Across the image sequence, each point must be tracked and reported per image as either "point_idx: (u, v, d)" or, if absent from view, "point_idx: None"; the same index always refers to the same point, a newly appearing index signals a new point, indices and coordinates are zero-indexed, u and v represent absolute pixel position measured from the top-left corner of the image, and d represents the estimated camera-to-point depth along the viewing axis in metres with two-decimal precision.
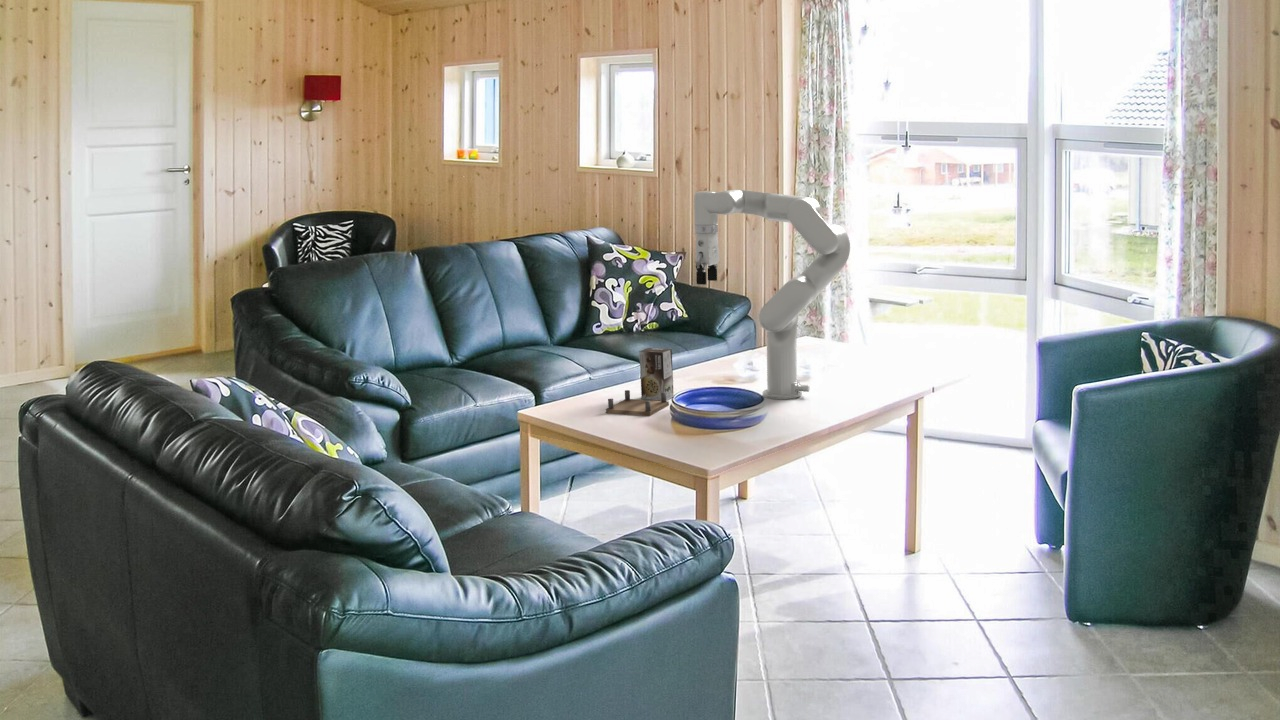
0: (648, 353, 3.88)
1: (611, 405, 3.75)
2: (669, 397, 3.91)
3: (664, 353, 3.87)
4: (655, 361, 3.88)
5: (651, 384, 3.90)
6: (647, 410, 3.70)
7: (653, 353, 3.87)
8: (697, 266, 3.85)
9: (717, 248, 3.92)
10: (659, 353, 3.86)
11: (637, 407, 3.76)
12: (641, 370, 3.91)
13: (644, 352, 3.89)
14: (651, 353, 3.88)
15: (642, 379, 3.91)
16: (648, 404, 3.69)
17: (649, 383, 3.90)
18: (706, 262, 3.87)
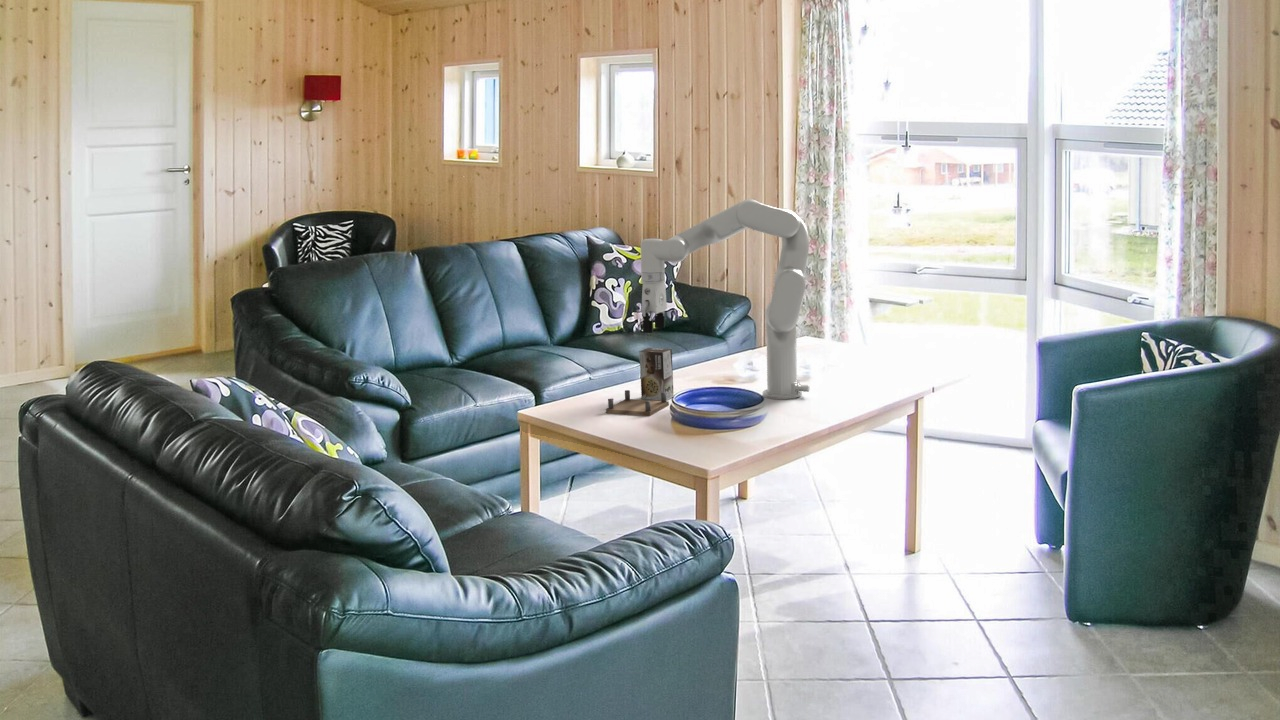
0: (648, 353, 3.88)
1: (611, 405, 3.75)
2: (669, 397, 3.91)
3: (664, 353, 3.87)
4: (655, 361, 3.88)
5: (651, 384, 3.90)
6: (647, 410, 3.70)
7: (653, 353, 3.87)
8: (643, 315, 3.81)
9: (664, 296, 3.89)
10: (659, 353, 3.86)
11: (637, 407, 3.76)
12: (641, 370, 3.91)
13: (644, 352, 3.89)
14: (651, 353, 3.88)
15: (642, 379, 3.91)
16: (648, 404, 3.69)
17: (649, 383, 3.90)
18: (652, 310, 3.83)
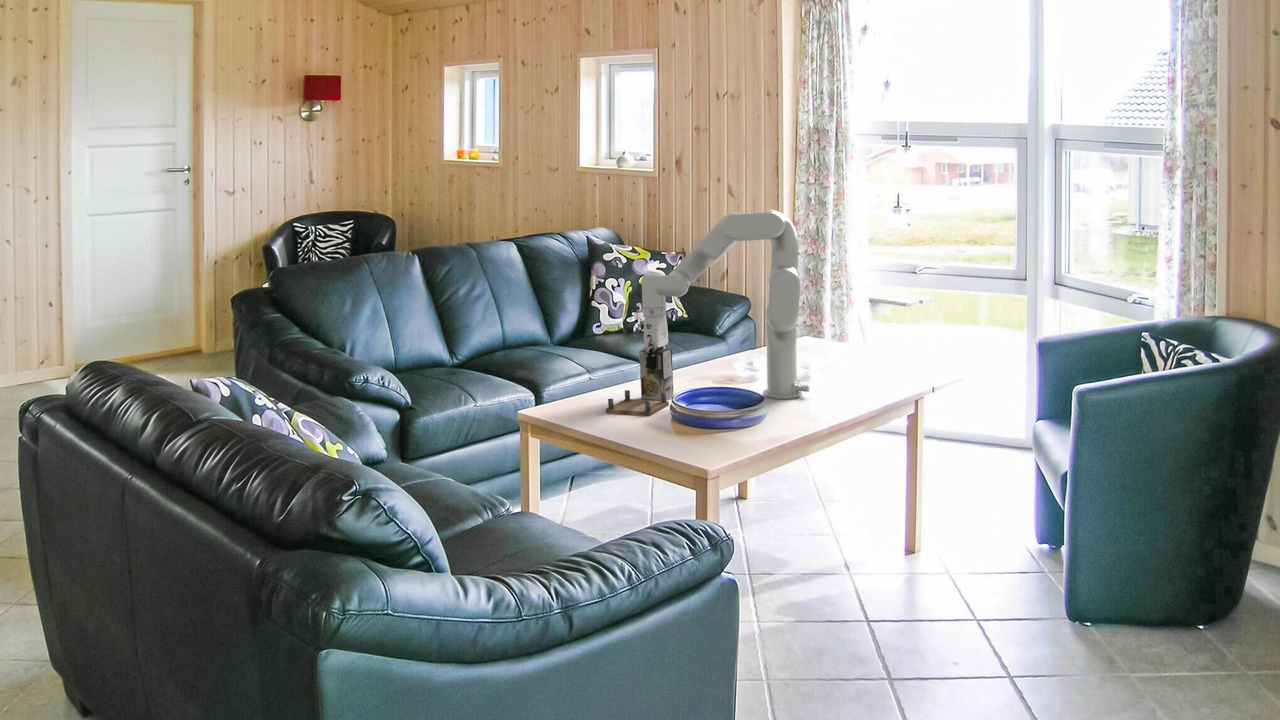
0: None
1: (611, 405, 3.75)
2: (669, 397, 3.91)
3: (664, 353, 3.87)
4: None
5: (651, 384, 3.90)
6: (647, 410, 3.70)
7: None
8: (647, 351, 3.84)
9: (666, 330, 3.91)
10: (659, 353, 3.86)
11: (637, 407, 3.76)
12: (641, 370, 3.91)
13: (644, 352, 3.89)
14: None
15: (642, 379, 3.91)
16: (648, 404, 3.69)
17: (649, 383, 3.90)
18: (654, 345, 3.85)
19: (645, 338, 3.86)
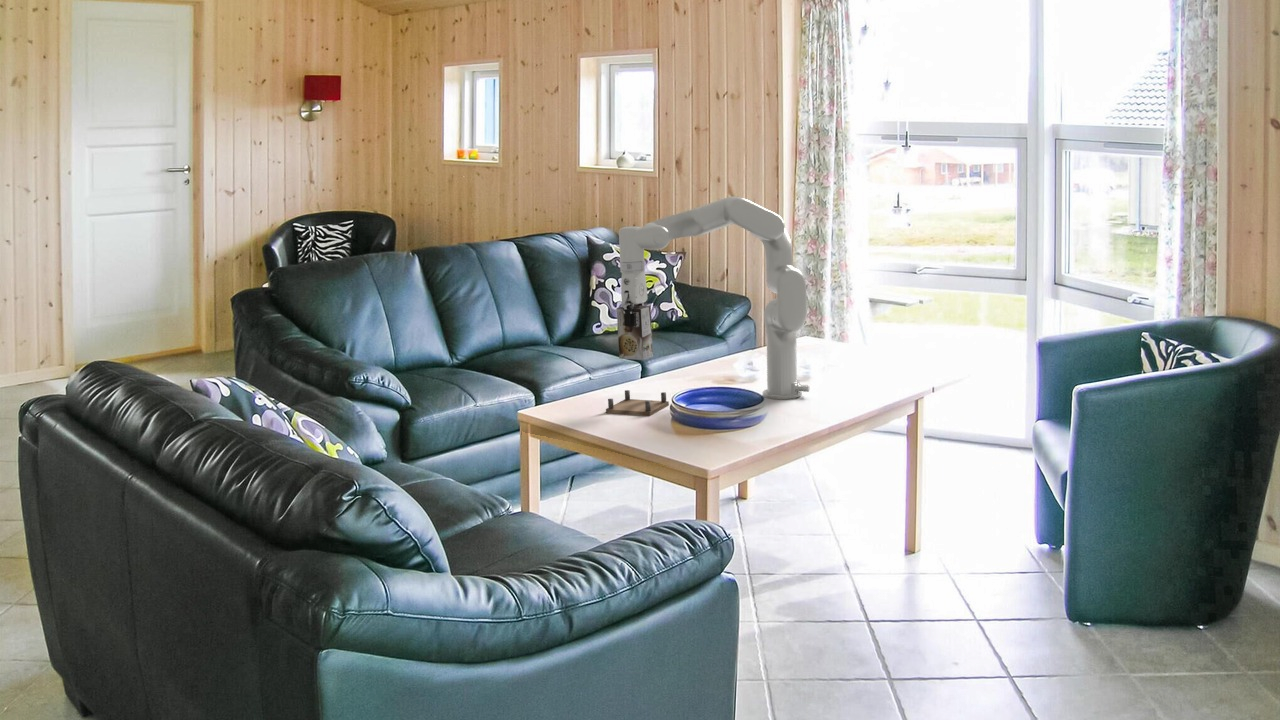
0: None
1: (611, 405, 3.75)
2: (648, 356, 3.73)
3: (642, 310, 3.69)
4: None
5: (629, 342, 3.72)
6: (647, 410, 3.70)
7: None
8: (624, 308, 3.67)
9: (645, 286, 3.73)
10: (637, 310, 3.69)
11: (637, 407, 3.76)
12: (619, 328, 3.73)
13: (621, 309, 3.72)
14: None
15: (620, 338, 3.74)
16: (648, 404, 3.69)
17: (627, 342, 3.73)
18: (632, 301, 3.67)
19: (622, 294, 3.68)
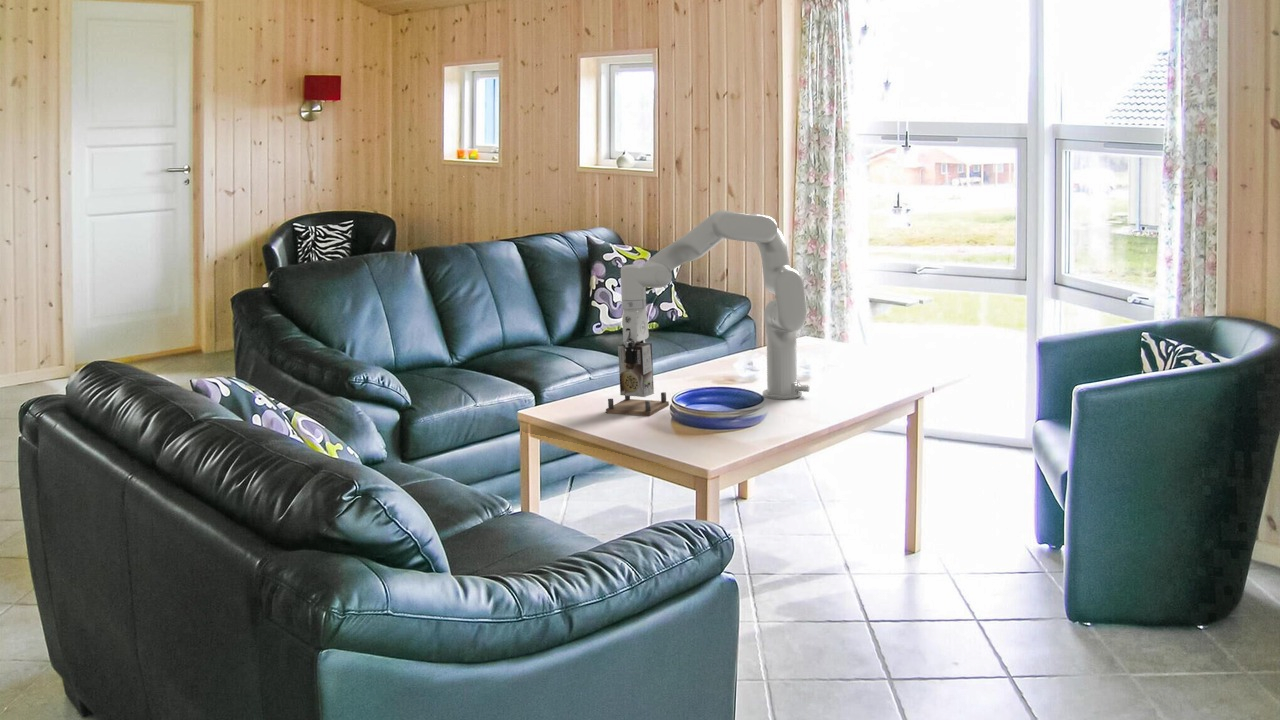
0: None
1: (611, 405, 3.75)
2: (649, 393, 3.76)
3: (643, 347, 3.71)
4: None
5: (630, 379, 3.75)
6: (647, 410, 3.70)
7: None
8: (626, 346, 3.69)
9: (646, 323, 3.75)
10: (638, 347, 3.71)
11: (637, 407, 3.76)
12: (620, 365, 3.76)
13: (623, 346, 3.74)
14: None
15: (621, 374, 3.76)
16: (648, 404, 3.69)
17: (628, 379, 3.75)
18: (634, 339, 3.69)
19: (624, 332, 3.70)
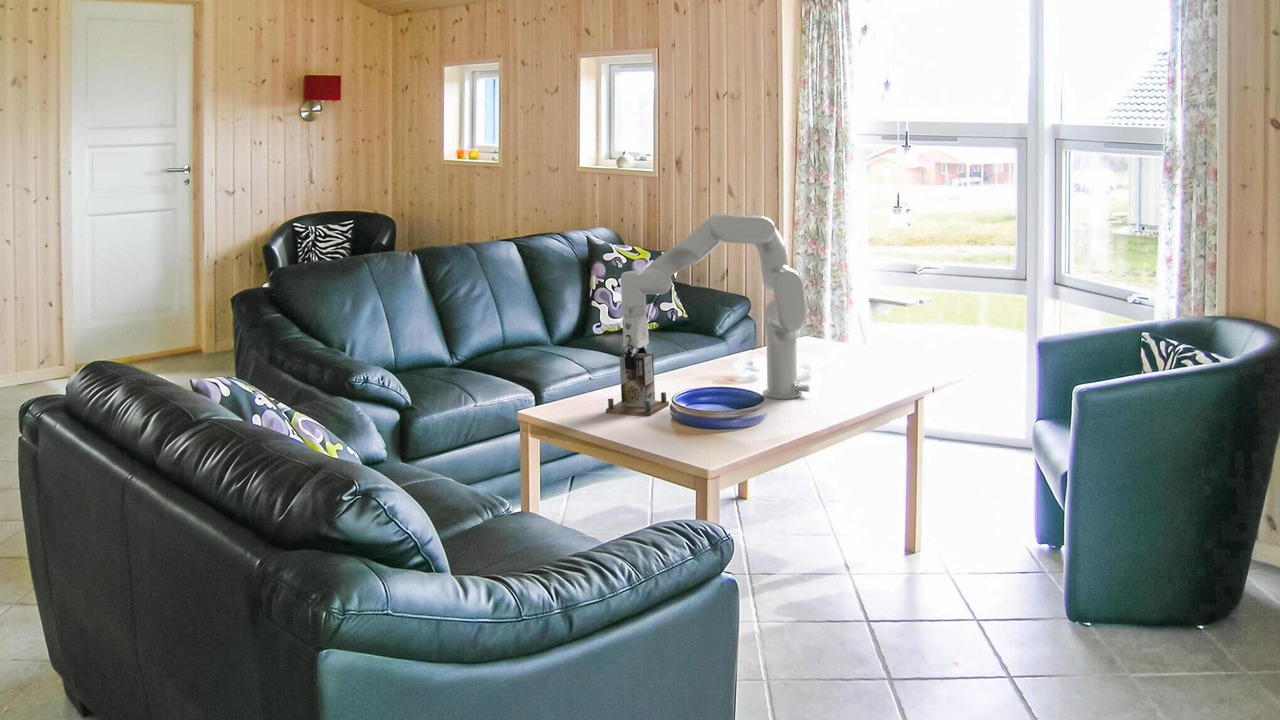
0: None
1: (611, 405, 3.75)
2: (651, 404, 3.77)
3: (645, 358, 3.72)
4: (636, 367, 3.73)
5: (632, 390, 3.75)
6: (647, 410, 3.70)
7: None
8: (625, 351, 3.69)
9: (646, 330, 3.76)
10: (640, 358, 3.72)
11: (637, 407, 3.76)
12: (621, 376, 3.76)
13: (624, 357, 3.74)
14: None
15: (622, 385, 3.77)
16: (648, 404, 3.69)
17: (630, 390, 3.76)
18: (634, 346, 3.70)
19: (624, 338, 3.71)
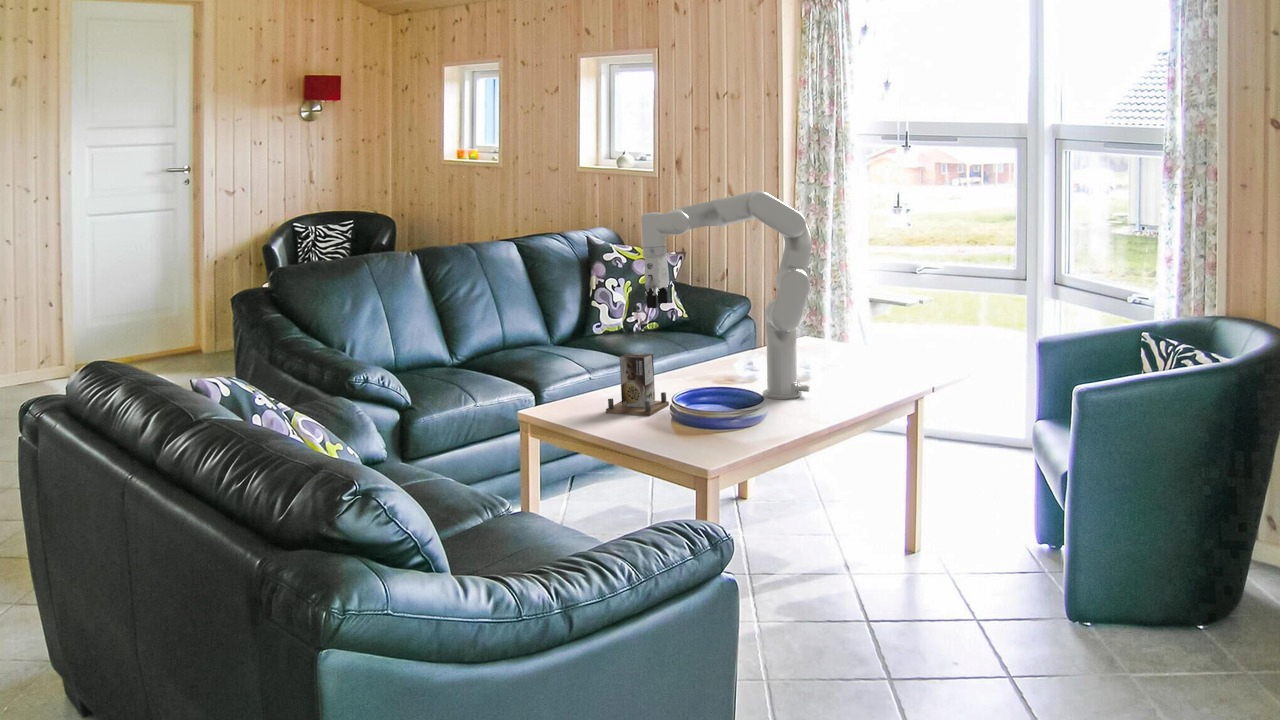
0: (629, 358, 3.74)
1: (611, 405, 3.75)
2: (651, 404, 3.77)
3: (645, 358, 3.72)
4: (636, 367, 3.73)
5: (632, 390, 3.75)
6: (647, 410, 3.70)
7: (634, 358, 3.73)
8: (647, 290, 3.75)
9: (667, 270, 3.83)
10: (640, 358, 3.72)
11: (637, 407, 3.76)
12: (621, 376, 3.76)
13: (624, 357, 3.75)
14: (632, 358, 3.73)
15: (622, 385, 3.77)
16: (648, 404, 3.69)
17: (630, 390, 3.76)
18: (656, 285, 3.77)
19: (646, 278, 3.77)
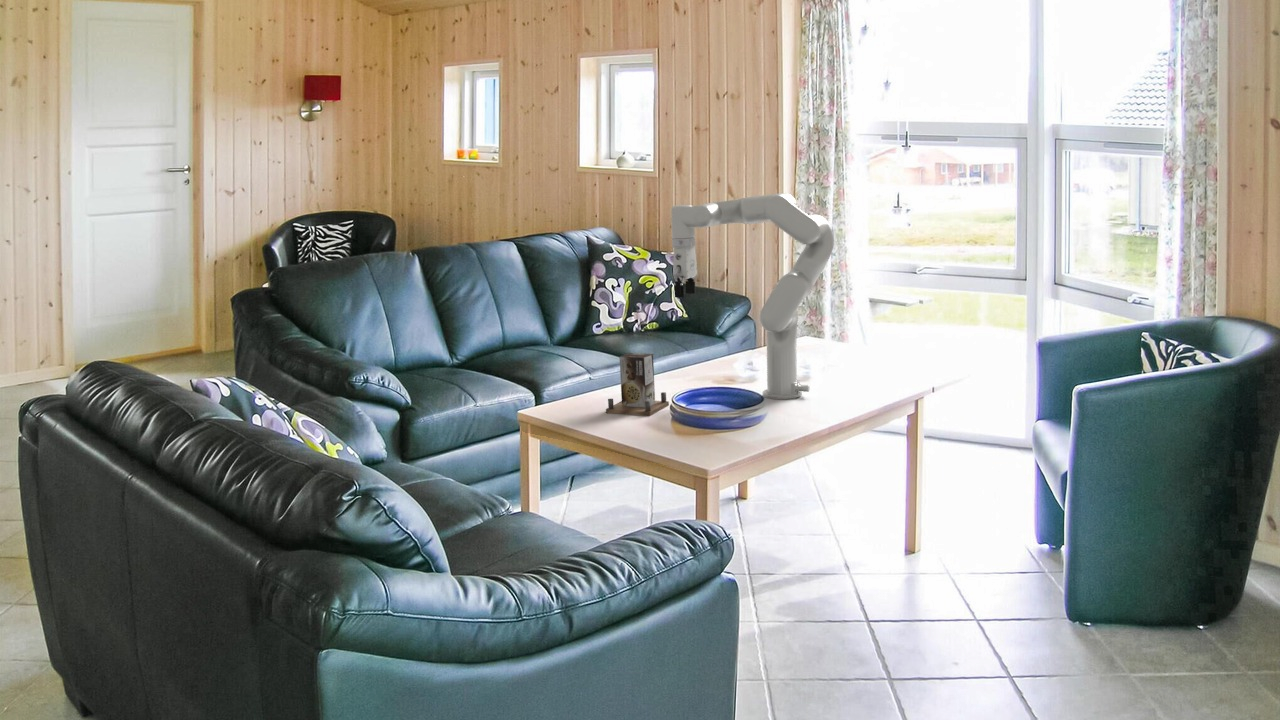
0: (629, 358, 3.74)
1: (611, 405, 3.75)
2: (651, 404, 3.77)
3: (645, 358, 3.72)
4: (636, 367, 3.73)
5: (632, 390, 3.75)
6: (647, 410, 3.70)
7: (634, 358, 3.73)
8: (675, 279, 3.88)
9: (695, 261, 3.95)
10: (640, 358, 3.72)
11: (637, 407, 3.76)
12: (621, 376, 3.76)
13: (624, 357, 3.75)
14: (632, 358, 3.73)
15: (622, 385, 3.77)
16: (648, 404, 3.69)
17: (630, 390, 3.76)
18: (684, 275, 3.89)
19: (674, 269, 3.90)
